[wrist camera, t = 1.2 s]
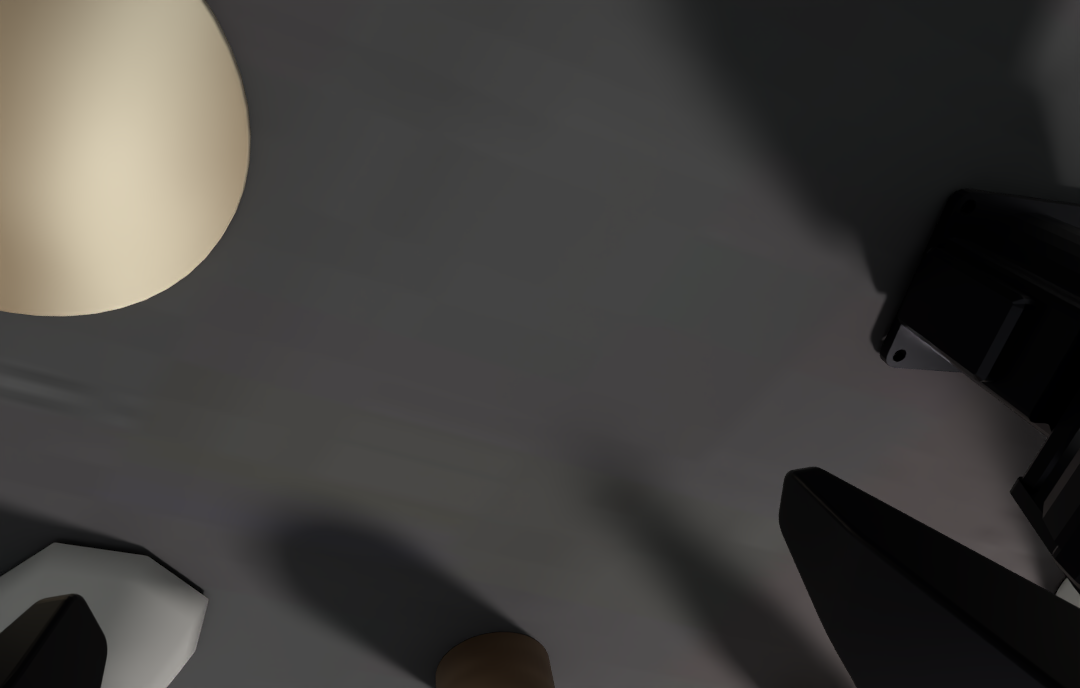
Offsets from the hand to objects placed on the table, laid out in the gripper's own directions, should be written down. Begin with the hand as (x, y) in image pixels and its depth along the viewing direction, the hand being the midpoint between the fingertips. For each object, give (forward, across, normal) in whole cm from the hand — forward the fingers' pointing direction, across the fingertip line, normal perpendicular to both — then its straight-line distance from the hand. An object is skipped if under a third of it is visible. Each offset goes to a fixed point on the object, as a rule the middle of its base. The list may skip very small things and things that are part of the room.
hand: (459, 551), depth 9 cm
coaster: (+13, +10, -4) cm, 17 cm away
